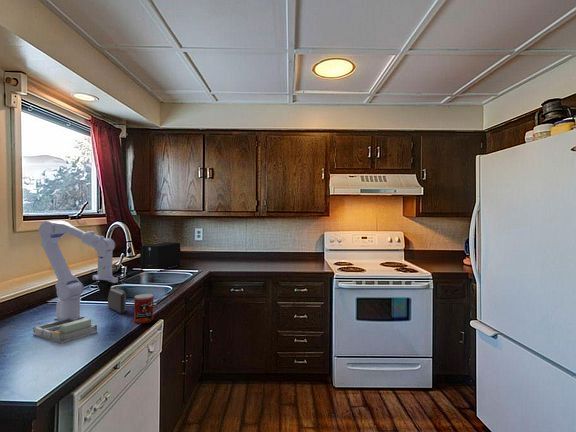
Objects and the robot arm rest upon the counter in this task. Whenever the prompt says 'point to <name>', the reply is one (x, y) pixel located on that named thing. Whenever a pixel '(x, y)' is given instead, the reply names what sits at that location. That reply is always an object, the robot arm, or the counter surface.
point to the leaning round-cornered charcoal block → (117, 300)
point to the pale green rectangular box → (75, 325)
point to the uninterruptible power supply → (160, 255)
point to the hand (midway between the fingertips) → (104, 297)
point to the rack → (54, 334)
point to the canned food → (143, 308)
